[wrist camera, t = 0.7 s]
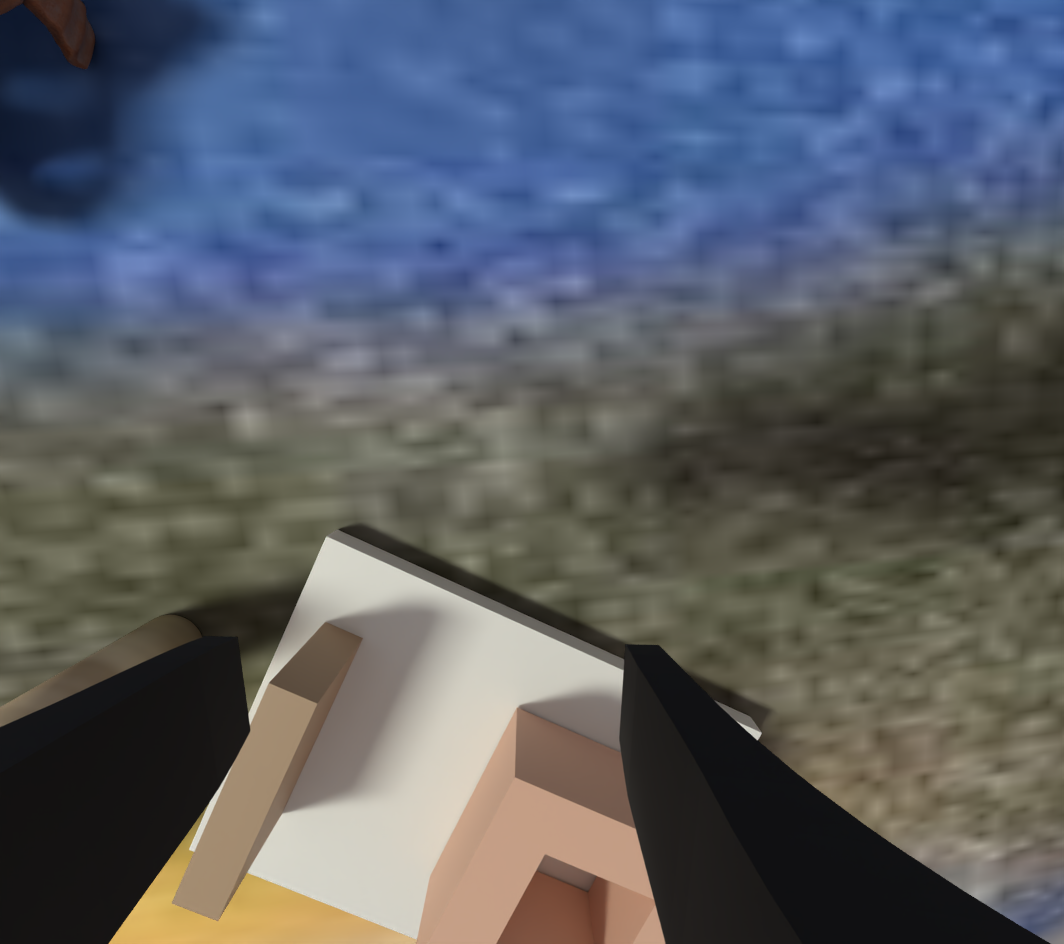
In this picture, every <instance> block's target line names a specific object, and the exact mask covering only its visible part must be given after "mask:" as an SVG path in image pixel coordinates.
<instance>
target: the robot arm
mask: <svg viewBox="0 0 1064 944" xmlns="http://www.w3.org/2000/svg"><path fill="white" fill-rule="evenodd" d="M250 731H251V730H250V723H249V716H248V708H247V701H246V694H245V687H244V680H243V672H242V665H241V658H240V651H239V644H238V637H218V636H204V637H202V638H199V639H196V640H193V641H191V642H188V643H185V644H183V645H181V646H178V647H176V648H173V649H171V650H169V651H167V652H164V653H162V654H160V655H158V656H155V657H153V658H151V659H149V660H147V661H144V662H142V663H140V664H138V665H136V666H133V667H131V668H129V669H127V670H125V671H123V672H121V673H118V674H116V675H114V676H112V677H110V678H108V679H105V680H103V681H101V682H99V683H97V684H95V685H93V686H90V687H88V688H86V689H84V690H82V691H80V692H77V693H75V694H73V695H71V696H69V697H67V698H65V699H62V700H60V701H58V702H56V703H54V704H51V705H49V706H47V707H45V708H42V709H40V710H38V711H35V712H33V713H31V714H29V715H26V716H24V717H22V718H20V719H17V720H15V721H13V722H10V723H8V724H6V725H4V726H1V727H0V944H108V943H109V942H110V941H111V939H112V938H113V936H114V935H115V933H116V932H117V931H118V929H119V928H120V927H121V925H122V924H123V922H124V921H125V920H126V918H127V917H128V915H129V914H130V913H131V911H132V910H133V908H134V907H135V906H136V904H137V903H138V901H139V900H140V899H141V897H142V896H143V895H144V893H145V892H146V890H147V889H148V888H149V886H150V885H151V883H152V882H153V881H154V879H155V878H156V876H157V875H158V874H159V872H160V871H161V869H162V868H163V867H164V865H165V864H166V863H167V861H168V860H169V858H170V857H171V856H172V854H173V853H174V851H175V850H176V849H177V847H178V846H179V844H180V843H181V842H182V840H183V839H184V838H185V836H186V835H187V833H188V832H189V830H190V829H191V828H192V826H193V825H194V823H195V822H196V821H197V819H198V818H199V816H200V815H201V813H202V812H203V811H204V809H205V808H206V806H207V805H208V804H209V802H210V801H211V799H212V798H213V796H214V795H215V793H216V792H217V790H218V789H219V787H220V786H221V784H222V782H223V781H224V779H225V777H226V775H227V774H228V772H229V770H230V768H231V767H232V765H233V763H234V761H235V760H236V758H237V756H238V754H239V752H240V750H241V748H242V746H243V744H244V743H245V741H246V739H247V737H248V735H249V733H250ZM619 742H620V749H621V756H622V763H623V770H624V776H625V783H626V789H627V796H628V800H629V804H630V808H631V812H632V816H633V820H634V824H635V828H636V832H637V836H638V840H639V844H640V848H641V851H642V855H643V859H644V863H645V867H646V871H647V874H648V878H649V882H650V886H651V890H652V894H653V898H654V901H655V905H656V909H657V913H658V917H659V921H660V924H661V928H662V932H663V936H664V940H665V944H1050V943H1049V942H1047V941H1045V940H1043V939H1042V938H1040V937H1038V936H1037V935H1035V934H1033V933H1031V932H1030V931H1028V930H1026V929H1025V928H1023V927H1021V926H1019V925H1018V924H1016V923H1015V922H1013V921H1011V920H1010V919H1008V918H1006V917H1005V916H1003V915H1002V914H1000V913H998V912H997V911H995V910H993V909H992V908H990V907H989V906H987V905H985V904H984V903H982V902H980V901H979V900H977V899H976V898H974V897H972V896H971V895H969V894H968V893H966V892H964V891H963V890H961V889H960V888H958V887H957V886H955V885H954V884H952V883H951V882H949V881H948V880H946V879H944V878H943V877H941V876H940V875H938V874H937V873H935V872H934V871H932V870H931V869H929V868H928V867H926V866H925V865H923V864H922V863H920V862H919V861H917V860H916V859H914V858H913V857H911V856H909V855H908V854H906V853H905V852H903V851H902V850H900V849H899V848H897V847H896V846H894V845H893V844H892V843H890V842H889V841H887V840H886V839H884V838H883V837H881V836H880V835H879V834H877V833H876V832H874V831H873V830H871V829H870V828H869V827H867V826H866V825H864V824H863V823H862V822H860V821H859V820H858V819H856V818H855V817H854V816H852V815H851V814H849V813H848V812H847V811H845V810H844V809H843V808H841V807H840V806H839V805H837V804H836V803H835V802H833V801H832V800H831V799H829V798H828V797H827V796H825V795H824V794H823V793H821V792H820V791H819V790H817V789H816V788H815V787H813V786H812V785H811V784H810V783H808V782H807V781H806V780H804V779H803V778H802V777H801V776H799V775H798V774H797V773H796V772H794V771H793V770H792V769H791V768H790V767H788V766H787V765H786V764H785V763H784V762H782V761H781V760H780V759H779V758H778V757H777V756H775V755H774V754H773V753H772V752H771V751H769V750H768V749H767V748H766V747H765V746H764V745H762V744H761V743H760V742H759V741H758V740H756V739H755V738H754V737H753V736H752V735H751V734H750V733H749V732H748V731H746V730H745V729H744V728H743V727H742V726H741V725H740V724H739V723H738V722H736V721H735V720H734V719H733V718H732V717H731V716H730V715H729V714H728V713H727V712H726V711H725V710H724V709H723V708H721V707H720V706H719V705H718V704H717V703H716V702H715V701H714V700H713V699H712V698H711V697H710V696H709V695H708V694H707V693H706V692H705V691H704V690H703V689H702V688H701V687H700V686H699V685H698V684H697V683H696V682H695V681H694V680H693V679H692V678H691V677H690V676H689V675H688V674H687V673H686V672H685V671H684V670H683V669H682V668H681V667H680V666H679V665H678V664H677V663H676V662H675V661H674V660H673V659H672V658H671V657H670V656H669V655H668V654H667V653H666V652H665V651H664V650H663V649H662V648H661V647H660V646H659V645H629V644H625V656H624V672H623V687H622V702H621V717H620V732H619Z"/></svg>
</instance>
